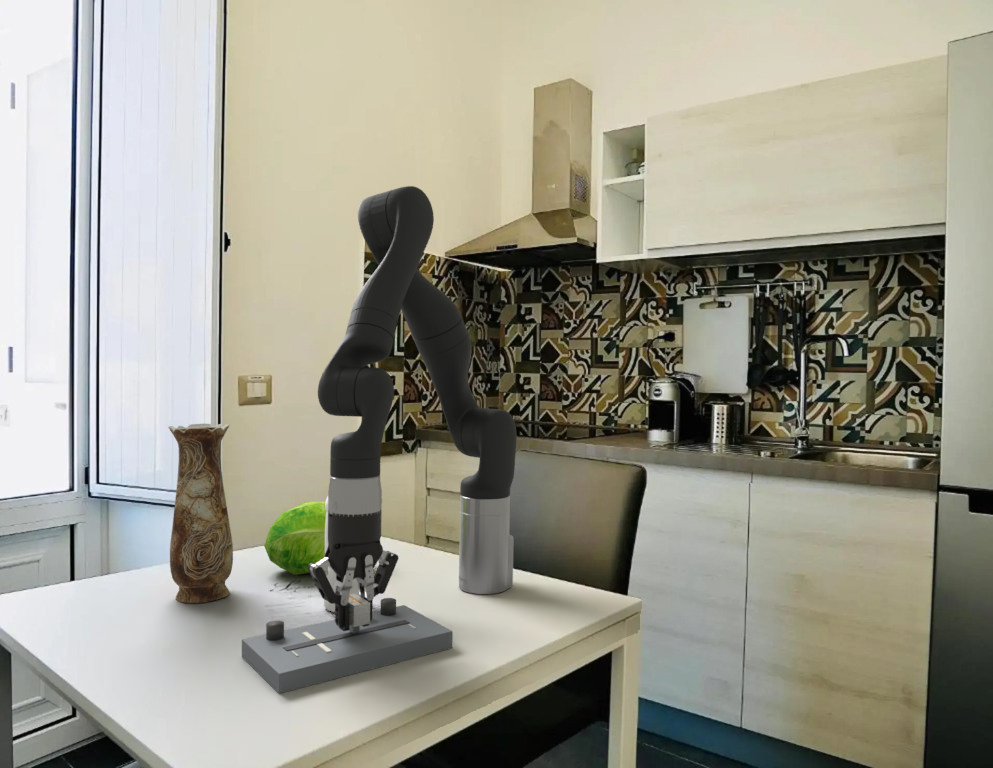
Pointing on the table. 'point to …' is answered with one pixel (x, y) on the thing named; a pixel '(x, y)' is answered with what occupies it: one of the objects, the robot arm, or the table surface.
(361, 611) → the fader
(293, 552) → the lettuce
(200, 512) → the vase
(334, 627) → the console
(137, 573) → the table surface
